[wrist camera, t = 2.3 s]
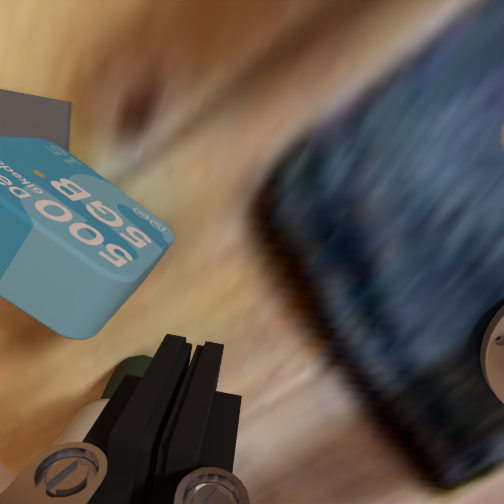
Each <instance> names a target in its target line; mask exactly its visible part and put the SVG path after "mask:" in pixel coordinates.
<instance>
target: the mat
mask: <svg viewBox="0 0 504 504" xmlns="http://www.w3.org/2000/svg"><path fill="white" fill-rule="evenodd" d="M70 111H71V102H66V101H61V100H55V99H50V98H45V97H40V96H34V95H29V94H24V93H18V92H13V91H8V90H2V89H0V136H6V137H29V138H42V139H45V140H48V141H50V142H53V143H55V144H56V145H58V146H60V147H62V148H63V149H65V150H66V151H68V152H69V133H70Z"/></svg>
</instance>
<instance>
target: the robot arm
mask: <svg viewBox="0 0 504 504" xmlns="http://www.w3.org/2000/svg"><path fill="white" fill-rule="evenodd" d="M223 349H224V345H223V344H218V343H213V342H207V341H206V342H205V345H204V346H201V345H197V347H196V350H195V352H194V355H193V358H192V360H191V363H190V356H191V350H192V344H191V343H186V337H181V336H176V335H171V334H167V335H166V336H165V338H164V340H163V341H162V343H161V345H160V347H159V348H158V350H157V352H156V354H155V355H154V357H153V359H152V361H151V362H150V364H149V366H148V368H147V369H146V371H145V373H144V375H143V376H142V377H140V376H134V375H129V374H127V375H125V377H124V378H123V379H122V381H121V382H120V384H119V385H118V387H117V389H116V390H115V392H114V393H113V395H112V396H111V398H110V399H109V401H108V402H107V404H106V406H105V407H104V409H103V410H102V412H101V413H100V415H99V416H98V418H97V419H96V421H95V422H94V424H93V426H92V427H91V429H90V430H89V432H88V433H87V435H86V436H85V438H84V439H83V441H82V442H68V443H64V444H60V445H57V446H54V447H52V448H50V449H48V450H46V451H45V452H43V453H42V454H41V455H40V456H38V457H37V458H36V459H35V460H34V461H33V462H32V463H31V464H30V465H29V466H28V467H27V468H26V469H25V470H24V471H23V472H22V473H21V474H20V475H19V476H18V477H17V478H16V479H15V480H14V481H13V482H12V483H11V484H10V485H9V486H8V487H7V488H6V489H5V490H4V491H3V492H2V493H1V494H0V504H250V502H249V497H248V493H247V490H246V488H245V487H244V485H243V483H242V482H241V480H239V479H238V478H237V477H236V476H235V475H234V474H232V471H233V463H234V455H235V447H236V439H237V431H238V422H239V414H240V406H241V398H242V396H240V395H234V394H229V393H224V392H218V391H216V388H217V382H218V377H219V371H220V366H221V360H222V355H223ZM189 363H190V365H189ZM480 364H481V368H482V372H483V376H484V378H485V380H486V382H487V384H488V386H489V388H490V389H491V390H492V391H493V392H494V394H495V395H496V396H497V397H498V398H499V399H500V400H501V401H502V402H503V404H504V305H503V306H502V307H501V308H500V309H499V310H498V312H497V313H496V314H495V316H494V317H493V319H492V320H491V322H490V323H489V325H488V327H487V330H486V332H485V334H484V336H483V340H482V345H481V349H480Z"/></svg>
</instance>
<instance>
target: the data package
mask: <svg viewBox="0 0 504 504" xmlns="http://www.w3.org/2000/svg"><path fill="white" fill-rule="evenodd" d="M174 238H175V237H174V234H173V232H172V230H171V229H170V228H169V227H168V226H167V225H166V224H165V223H164V222H162V221H161V220H160V219H158V218H157V217H155V216H154V215H153V214H151V213H150V212H149V211H147V210H146V209H145V208H143V207H142V206H141V205H139V204H138V203H137V202H135V201H134V200H132V199H131V198H130V197H128V196H127V195H126V194H124V193H123V192H122V191H120V190H119V189H118V188H116V187H115V186H114V185H112V184H111V183H110V182H108V181H107V180H105V179H104V178H103V177H101V176H100V175H99V174H97V173H96V172H95V171H93V170H92V169H91V168H89V167H88V166H87V165H85V164H84V163H82V162H81V161H80V160H78V159H77V158H76V157H74V156H73V155H72V154H70V153H69V152H68V151H66V150H65V149H63V148H62V147H60V146H58V145H56V144H55V143H53V142H50V141H48V140H45V139H42V138H29V137H6V136H0V296H1V297H2V298H4V299H5V300H7V301H8V302H10V303H11V304H13V305H14V306H16V307H17V308H19V309H20V310H22V311H23V312H25V313H26V314H28V315H30V316H31V317H33V318H34V319H36V320H37V321H39V322H40V323H42V324H43V325H45V326H46V327H48V328H49V329H51V330H52V331H54V332H56V333H57V334H59V335H61V336H64V337H66V338H70V339H76V340H84V339H89V338H91V337H93V336H95V335H96V334H97V333H98V332H99V331H100V330H101V329H102V328H103V327H104V325H105V324H106V323H107V322H108V321H109V320H110V319H111V317H112V316H113V315H114V314H115V313H116V312H117V311H118V310H119V308H120V307H121V306H122V305H123V304H124V303H125V302H126V301H127V299H128V298H129V297H130V296H131V295H132V294H133V293H134V291H135V290H136V289H137V288H138V287H139V286H140V285H141V284H142V282H143V281H144V280H145V279H146V278H147V276H148V275H149V273H150V272H151V271H152V269H153V268H154V267H155V265H156V264H157V263H158V261H159V260H160V259H161V257H162V256H163V255H164V253H165V252H166V251H167V249H168V248H169V247H170V245H171V244H172V243H173V241H174Z"/></svg>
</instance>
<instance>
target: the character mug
mask: <svg viewBox="0 0 504 504" xmlns="http://www.w3.org/2000/svg"><path fill="white" fill-rule="evenodd" d="M152 359H153V358H152V357H148V356H144V355H140V356H135V357H129V358H127V359H126V360H125V361H123V362H122V363H121V364H120V365H118V366H117V368H116V369H115V371H114V373H113V375H112V376H111V378H110V380H109V382H108V384H107V386H106V388H105V390H104V392H103V394H102V397H101V399H97V400H95V401H93V402H91V403H88V404H86V405H84V406H83V407H82V408H81V409H80V410H79V411H78V412H77V413H76V414H75V416H74V417H73V418H72V420H71V421H70V422H69V423H68V425H67V426H66V427H65V429H64V430H63V431H62V432H61V434H60V435H59V436H58V438H57V439H56V440H55V442H54V443H53V444H52V445H51V447H50V448H52V447H54V446H57V445H60V444H64V443H68V442H82V441H83V439H84V438H85V436H86V435H87V433H88V432H89V430H90V429H91V427H92V426H93V424H94V422H95V421H96V419H97V418H98V416H99V415H100V413H101V412H102V410H103V409H104V407H105V406H106V404H107V402H108V401H109V399H110V398H111V396H112V395H113V393H114V392H115V390H116V389H117V387H118V385H119V384H120V382H121V381H122V379H123V378H124V377H125V375H127V374H129V375H134V376H140V377H142V376H143V375H144V373H145V371H146V369H147V368H148V366H149V364H150V362H151V361H152ZM50 448H49V449H50Z"/></svg>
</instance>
